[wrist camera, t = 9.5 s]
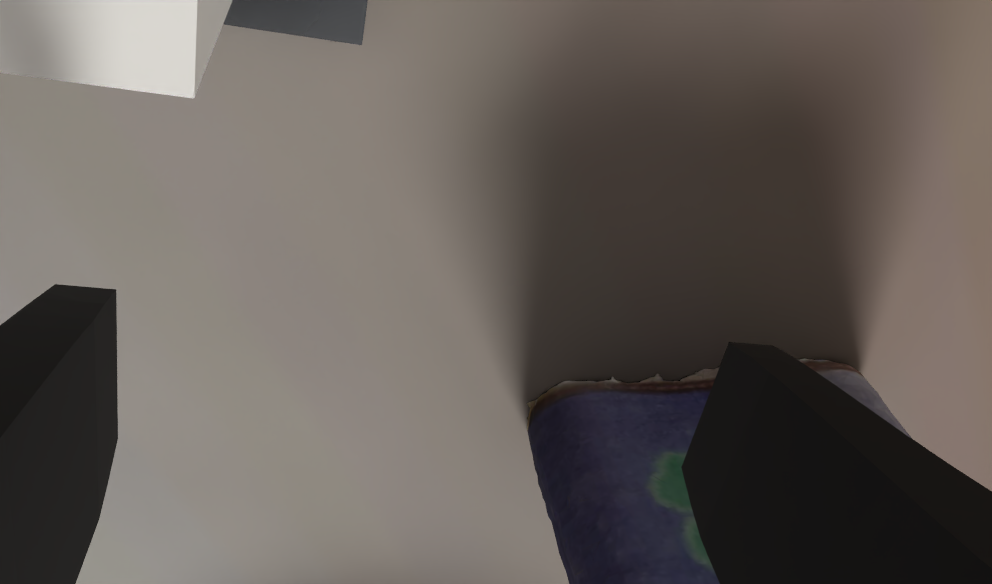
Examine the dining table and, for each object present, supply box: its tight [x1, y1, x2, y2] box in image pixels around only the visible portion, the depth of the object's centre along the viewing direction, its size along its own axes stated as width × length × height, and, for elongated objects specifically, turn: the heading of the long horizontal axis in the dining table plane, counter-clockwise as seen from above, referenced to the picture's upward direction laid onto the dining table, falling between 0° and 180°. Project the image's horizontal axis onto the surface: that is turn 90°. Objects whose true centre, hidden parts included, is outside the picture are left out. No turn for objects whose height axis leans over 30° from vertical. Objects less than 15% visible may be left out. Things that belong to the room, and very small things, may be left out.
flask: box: [527, 358, 911, 584], centre depth 20 cm, size 9×3×11 cm, turn 89°
